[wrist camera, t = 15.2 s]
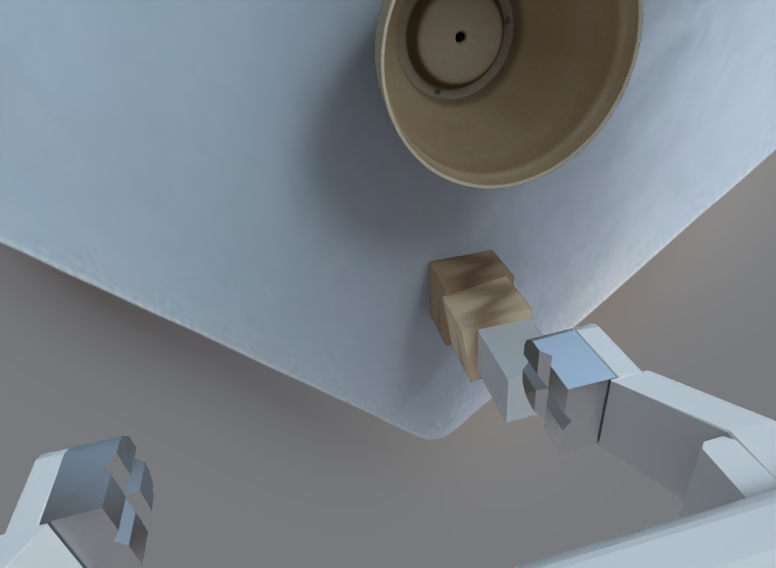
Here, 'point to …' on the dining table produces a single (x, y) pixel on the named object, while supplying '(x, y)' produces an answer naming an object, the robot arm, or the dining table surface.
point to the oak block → (481, 316)
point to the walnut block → (460, 281)
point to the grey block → (506, 366)
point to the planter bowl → (503, 81)
